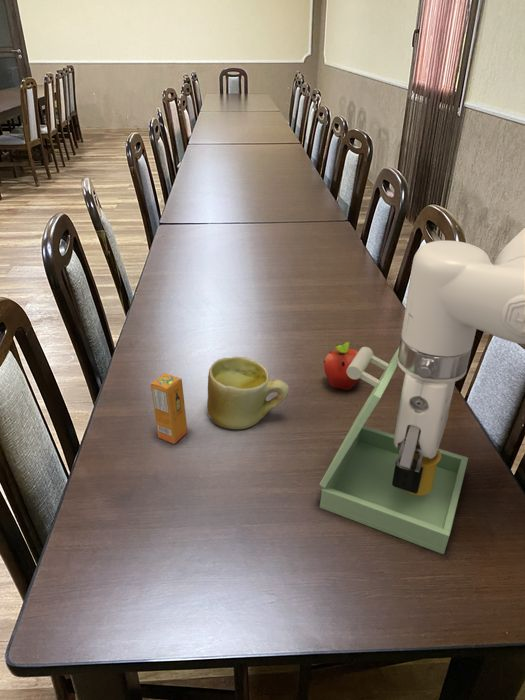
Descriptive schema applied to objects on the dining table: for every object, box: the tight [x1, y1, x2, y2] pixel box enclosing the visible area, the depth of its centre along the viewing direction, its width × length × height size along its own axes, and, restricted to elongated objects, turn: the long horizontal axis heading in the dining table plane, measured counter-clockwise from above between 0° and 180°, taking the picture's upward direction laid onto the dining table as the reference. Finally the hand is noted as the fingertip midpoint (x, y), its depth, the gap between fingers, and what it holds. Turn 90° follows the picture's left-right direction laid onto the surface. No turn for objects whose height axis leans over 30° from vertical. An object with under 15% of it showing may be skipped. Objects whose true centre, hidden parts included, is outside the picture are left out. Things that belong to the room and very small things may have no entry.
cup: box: [407, 443, 441, 496], centre depth 68 cm, size 5×5×5 cm
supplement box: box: [150, 373, 188, 445], centre depth 78 cm, size 3×3×10 cm
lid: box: [319, 345, 400, 488], centre depth 68 cm, size 16×15×5 cm
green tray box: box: [319, 425, 469, 555], centre depth 71 cm, size 16×15×3 cm
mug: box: [206, 356, 290, 430], centre depth 82 cm, size 12×10×10 cm
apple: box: [323, 341, 361, 391], centre depth 89 cm, size 8×7×10 cm
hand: (410, 473), depth 69 cm, fingers closed on cup, 4 cm apart
